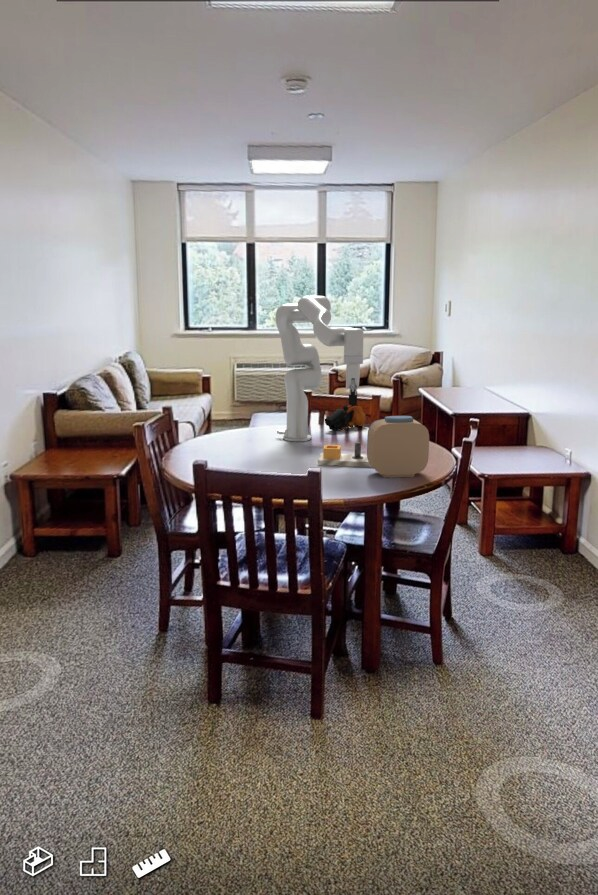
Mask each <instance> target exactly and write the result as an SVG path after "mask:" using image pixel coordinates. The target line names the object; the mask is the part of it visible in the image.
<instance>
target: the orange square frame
mask: <svg viewBox="0 0 598 895" xmlns="http://www.w3.org/2000/svg"><path fill="white" fill-rule="evenodd" d="M322 451H323V452H322V453H323V459H340V456H341V454H342V445H337V444H324V447H323V450H322Z"/></svg>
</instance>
